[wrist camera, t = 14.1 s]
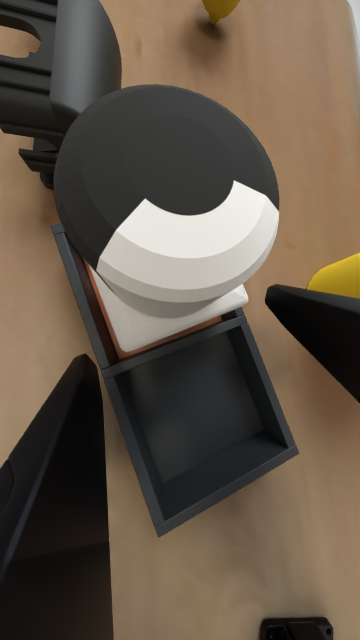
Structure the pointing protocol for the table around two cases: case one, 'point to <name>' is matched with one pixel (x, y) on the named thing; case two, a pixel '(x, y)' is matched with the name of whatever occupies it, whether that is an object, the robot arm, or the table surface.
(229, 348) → the divided tray
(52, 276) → the table surface
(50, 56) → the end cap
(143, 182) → the medicine bottle
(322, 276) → the yellow toilet paper roll
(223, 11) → the lemon
